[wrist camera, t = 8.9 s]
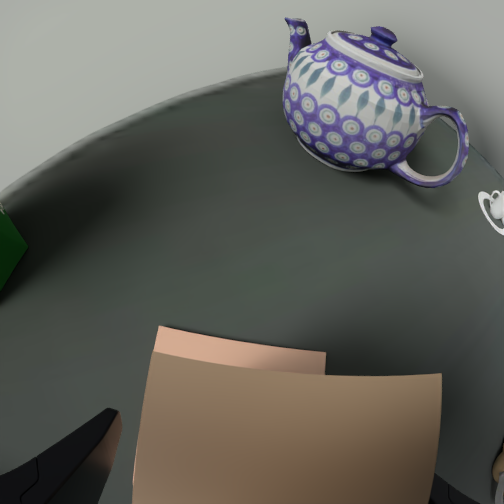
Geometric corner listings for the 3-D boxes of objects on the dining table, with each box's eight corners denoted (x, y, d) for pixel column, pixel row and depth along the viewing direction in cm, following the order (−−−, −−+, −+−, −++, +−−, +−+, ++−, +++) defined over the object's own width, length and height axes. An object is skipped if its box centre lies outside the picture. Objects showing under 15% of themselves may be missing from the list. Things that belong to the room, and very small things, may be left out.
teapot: (440, 201, 29) (511, 114, 16) (371, 255, 23) (484, 123, 10) (313, 83, 37) (341, -1, 24) (224, 96, 31) (240, -15, 18)
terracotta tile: (304, 501, 13) (307, 504, 12) (134, 481, 12) (132, 484, 12) (322, 353, 18) (326, 352, 18) (160, 327, 18) (159, 325, 17)
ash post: (264, 466, 14) (400, 581, 2) (185, 457, 13) (133, 598, 1) (273, 395, 16) (442, 373, 4) (195, 385, 16) (152, 350, 4)
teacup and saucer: (513, 230, 31) (528, 217, 28) (504, 249, 28) (522, 235, 25) (483, 188, 34) (497, 173, 31) (471, 201, 31) (487, 184, 28)
